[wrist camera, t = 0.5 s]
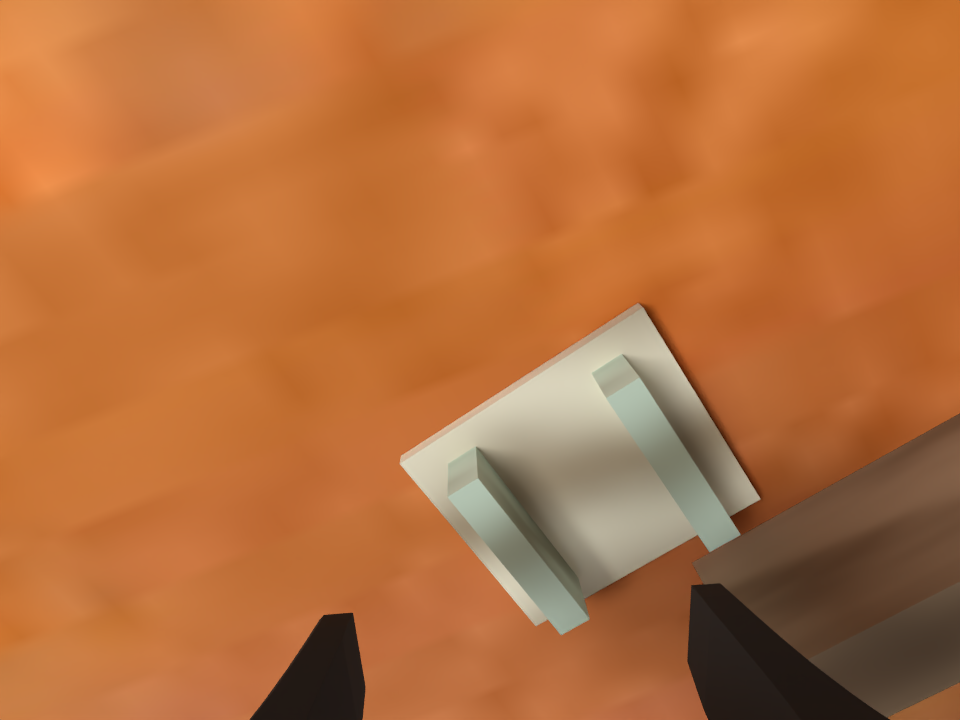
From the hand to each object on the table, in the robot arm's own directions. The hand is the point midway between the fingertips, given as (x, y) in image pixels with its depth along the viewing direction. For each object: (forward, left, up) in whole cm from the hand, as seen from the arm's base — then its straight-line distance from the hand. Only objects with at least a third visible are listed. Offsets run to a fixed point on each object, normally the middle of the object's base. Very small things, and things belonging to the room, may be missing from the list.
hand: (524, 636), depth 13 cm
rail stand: (-3, -2, -10) cm, 11 cm away
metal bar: (-11, -10, -10) cm, 18 cm away
